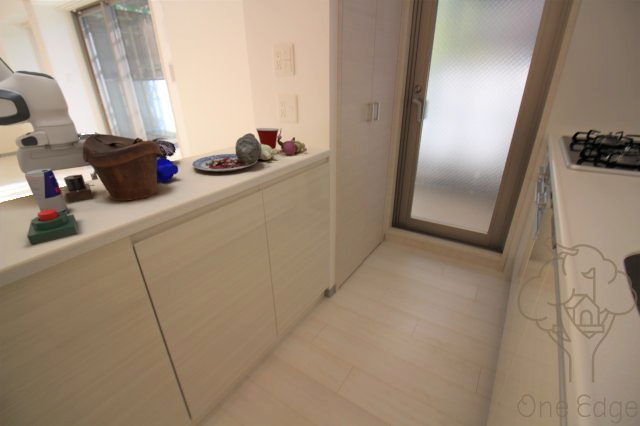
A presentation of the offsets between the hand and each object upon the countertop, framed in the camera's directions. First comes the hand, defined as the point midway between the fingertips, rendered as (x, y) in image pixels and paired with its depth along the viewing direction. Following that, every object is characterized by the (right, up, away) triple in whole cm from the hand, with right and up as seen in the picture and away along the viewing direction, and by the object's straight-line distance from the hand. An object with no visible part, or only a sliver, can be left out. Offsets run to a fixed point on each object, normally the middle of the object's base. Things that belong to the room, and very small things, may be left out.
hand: (76, 182), depth 87 cm
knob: (0, -2, +1) cm, 2 cm away
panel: (0, -4, +2) cm, 5 cm away
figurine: (+64, +28, +58) cm, 91 cm away
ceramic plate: (+34, +10, +33) cm, 49 cm away
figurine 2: (+56, +22, +60) cm, 85 cm away
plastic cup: (+49, +20, +54) cm, 76 cm away
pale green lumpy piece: (+53, +17, +38) cm, 68 cm away
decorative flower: (+7, +11, +27) cm, 30 cm away
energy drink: (+2, -10, -9) cm, 13 cm away
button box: (+11, -14, -18) cm, 26 cm away
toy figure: (+22, +6, +12) cm, 26 cm away
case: (+15, -3, +5) cm, 16 cm away
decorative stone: (+39, +18, +31) cm, 53 cm away
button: (+11, -11, -20) cm, 25 cm away
